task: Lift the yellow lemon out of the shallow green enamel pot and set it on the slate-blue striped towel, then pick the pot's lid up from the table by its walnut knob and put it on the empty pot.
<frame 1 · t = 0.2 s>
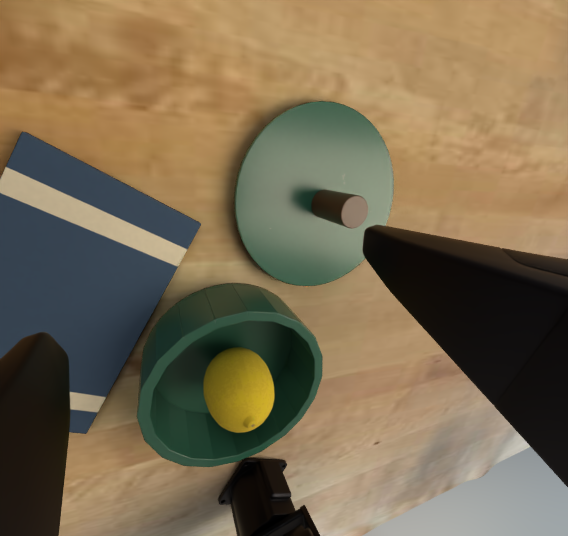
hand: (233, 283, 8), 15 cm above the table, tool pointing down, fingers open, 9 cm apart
pot lid: (320, 203, 25), point 1 cm above the table
lemon: (227, 355, 27), resting on pot
towel: (62, 308, 20), on the table
pot: (227, 353, 27), on the table
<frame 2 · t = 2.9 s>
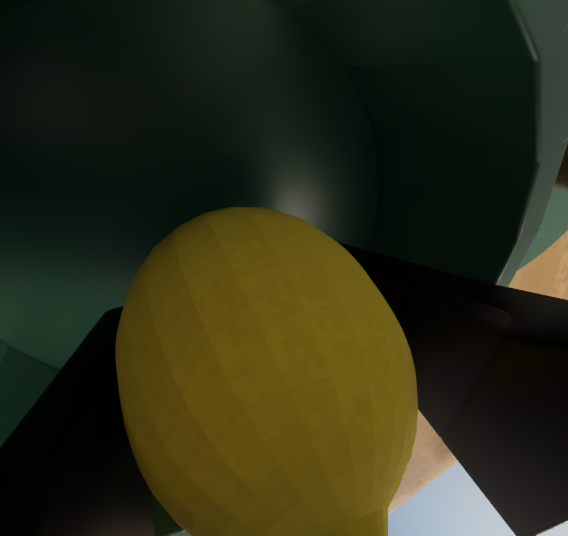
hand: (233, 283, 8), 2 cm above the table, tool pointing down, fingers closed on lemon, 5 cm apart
pot lid: (547, 156, 14), point 1 cm above the table
lemon: (216, 249, 9), resting on pot, touching gripper
pot: (215, 246, 10), on the table
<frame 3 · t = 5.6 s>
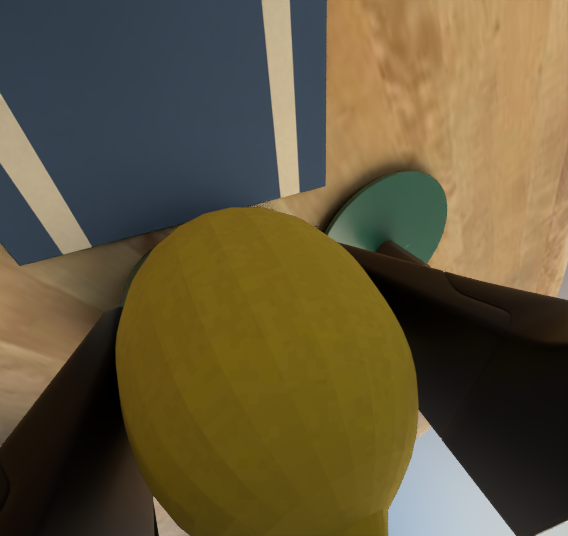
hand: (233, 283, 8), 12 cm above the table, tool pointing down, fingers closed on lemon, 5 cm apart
pot lid: (381, 248, 28), point 1 cm above the table
lemon: (216, 249, 9), point 10 cm above the table, touching gripper
towel: (166, 128, 16), on the table
when the fingers open (2 cm above the table, at t = 8.4 s): lemon stays where it is, resting on towel.
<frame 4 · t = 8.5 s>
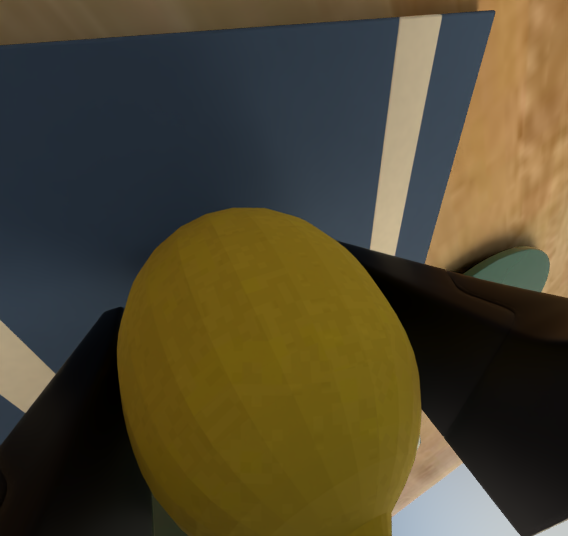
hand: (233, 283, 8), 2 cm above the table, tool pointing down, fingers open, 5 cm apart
pot lid: (462, 332, 22), point 1 cm above the table
lemon: (217, 249, 9), resting on towel
towel: (216, 241, 10), on the table
pot: (264, 420, 18), on the table
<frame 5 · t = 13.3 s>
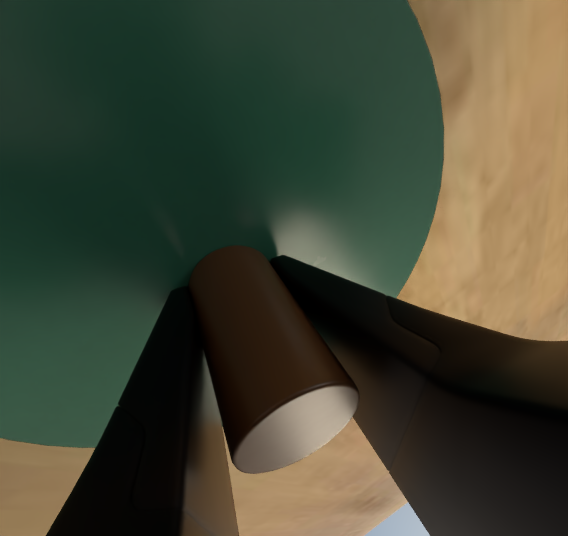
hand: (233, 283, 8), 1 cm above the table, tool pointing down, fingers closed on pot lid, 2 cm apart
pot lid: (227, 271, 8), point 1 cm above the table, touching gripper
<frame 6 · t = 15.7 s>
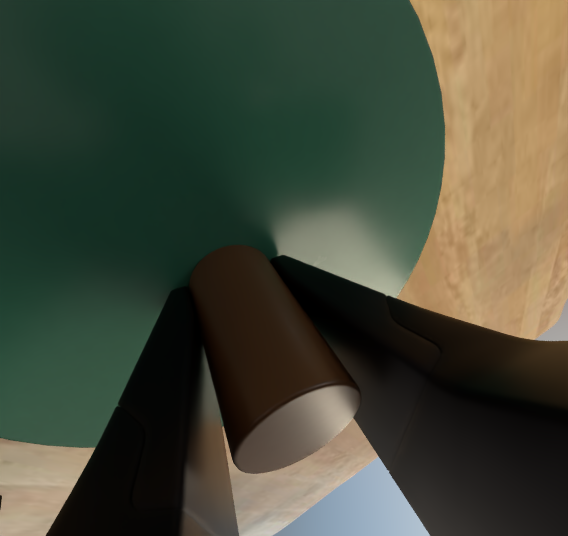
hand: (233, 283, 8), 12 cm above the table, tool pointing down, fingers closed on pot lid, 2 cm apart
pot lid: (227, 271, 8), point 11 cm above the table, touching gripper
when the fingers open (6 cm above the table, at t = 18.0 s): pot lid stays where it is, resting on pot.
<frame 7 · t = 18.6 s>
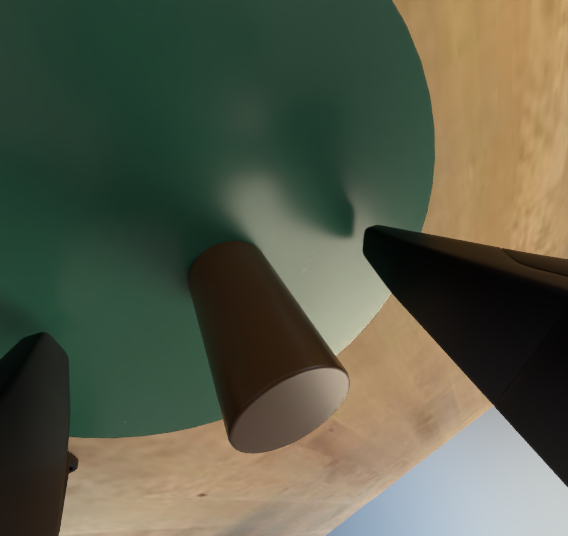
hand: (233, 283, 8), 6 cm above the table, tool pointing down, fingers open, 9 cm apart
pot lid: (225, 266, 9), point 5 cm above the table, touching pot
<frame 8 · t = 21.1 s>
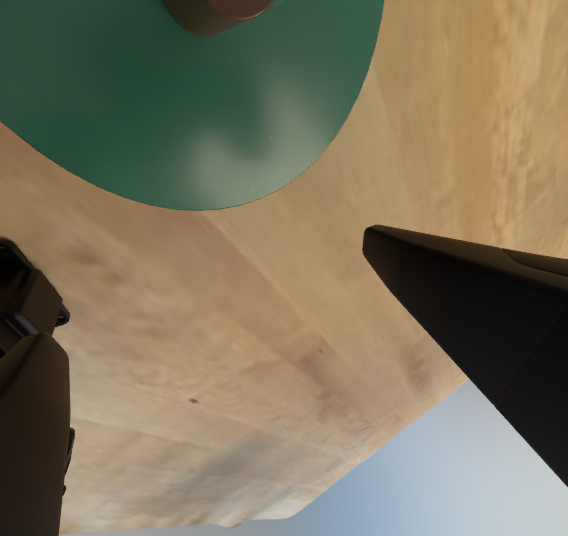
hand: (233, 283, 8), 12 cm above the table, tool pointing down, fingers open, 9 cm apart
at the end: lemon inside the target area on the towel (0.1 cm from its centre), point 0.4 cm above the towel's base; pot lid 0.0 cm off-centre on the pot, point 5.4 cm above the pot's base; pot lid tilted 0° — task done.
